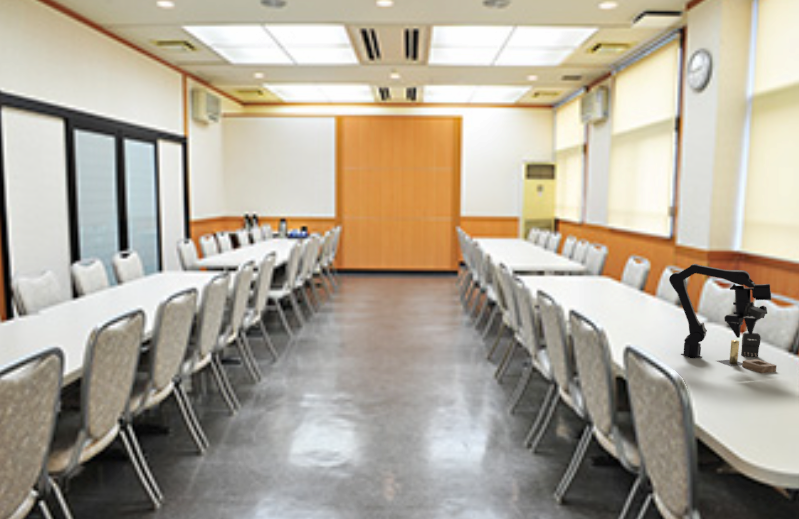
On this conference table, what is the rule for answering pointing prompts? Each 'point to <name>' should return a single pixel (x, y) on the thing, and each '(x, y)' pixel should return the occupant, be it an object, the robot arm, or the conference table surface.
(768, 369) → the pin block
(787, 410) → the conference table surface
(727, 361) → the mat
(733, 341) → the pin
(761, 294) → the robot arm
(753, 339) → the battery charger
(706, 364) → the conference table surface
